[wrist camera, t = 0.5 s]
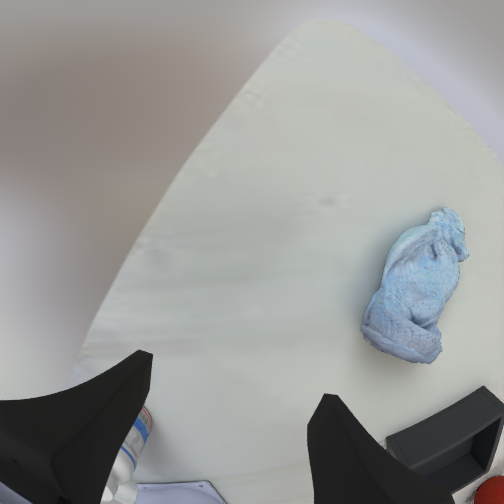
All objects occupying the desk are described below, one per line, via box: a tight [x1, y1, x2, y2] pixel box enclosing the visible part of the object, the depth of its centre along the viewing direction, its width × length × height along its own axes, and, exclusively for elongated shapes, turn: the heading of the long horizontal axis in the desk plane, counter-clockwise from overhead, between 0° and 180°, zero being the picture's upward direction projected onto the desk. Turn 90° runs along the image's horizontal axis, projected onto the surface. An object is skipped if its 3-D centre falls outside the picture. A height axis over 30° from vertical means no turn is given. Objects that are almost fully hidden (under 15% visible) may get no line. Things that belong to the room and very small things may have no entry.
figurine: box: [360, 207, 469, 364], centre depth 19 cm, size 8×12×7 cm, turn 160°
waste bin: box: [386, 386, 504, 495], centre depth 22 cm, size 13×13×5 cm
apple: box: [474, 476, 504, 504], centre depth 21 cm, size 11×11×12 cm
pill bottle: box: [101, 407, 152, 501], centre depth 19 cm, size 6×5×10 cm
